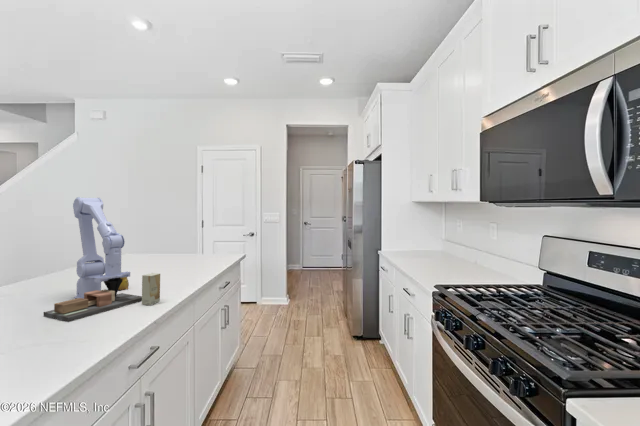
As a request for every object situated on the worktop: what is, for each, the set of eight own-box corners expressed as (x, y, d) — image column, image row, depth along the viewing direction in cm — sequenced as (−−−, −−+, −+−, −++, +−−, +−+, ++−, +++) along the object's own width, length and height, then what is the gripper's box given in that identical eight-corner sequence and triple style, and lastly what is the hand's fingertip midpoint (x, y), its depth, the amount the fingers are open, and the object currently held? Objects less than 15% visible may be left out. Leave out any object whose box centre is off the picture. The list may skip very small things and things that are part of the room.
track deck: (43, 316, 128) (43, 300, 128) (121, 296, 157) (122, 283, 157) (68, 321, 122) (68, 304, 122) (144, 300, 152) (144, 286, 151)
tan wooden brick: (53, 311, 127) (53, 300, 127) (104, 298, 145) (104, 289, 145) (64, 313, 125) (64, 302, 125) (114, 300, 143) (114, 290, 143)
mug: (128, 290, 169) (129, 276, 169) (112, 291, 166) (112, 277, 166) (128, 285, 180) (128, 272, 180) (112, 286, 176) (113, 272, 176)
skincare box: (150, 305, 144) (150, 275, 144) (141, 304, 145) (141, 275, 144) (160, 301, 150) (160, 273, 150) (151, 300, 151) (151, 272, 151)
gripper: (103, 267, 137) (102, 302, 137) (135, 262, 150) (135, 293, 151) (91, 266, 140) (90, 300, 140) (123, 261, 153) (123, 292, 153)
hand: (113, 296), depth 145 cm, fingers closed
